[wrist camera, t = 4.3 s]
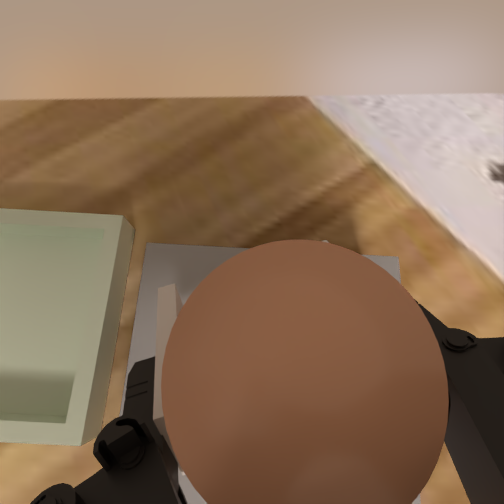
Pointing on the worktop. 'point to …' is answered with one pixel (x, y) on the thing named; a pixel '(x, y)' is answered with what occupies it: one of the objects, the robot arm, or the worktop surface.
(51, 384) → the tray
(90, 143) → the worktop surface
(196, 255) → the grey square plinth
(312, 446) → the terracotta domed cylinder
